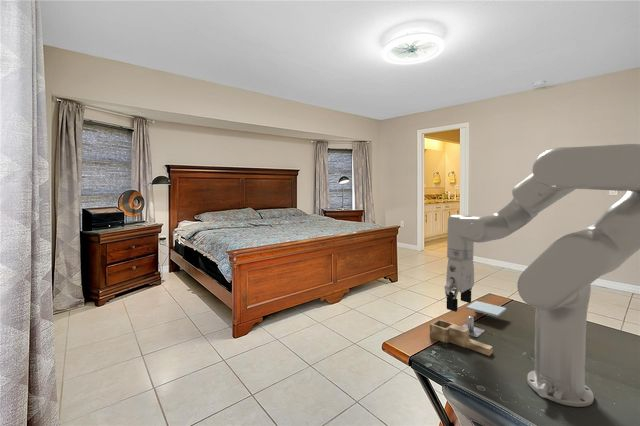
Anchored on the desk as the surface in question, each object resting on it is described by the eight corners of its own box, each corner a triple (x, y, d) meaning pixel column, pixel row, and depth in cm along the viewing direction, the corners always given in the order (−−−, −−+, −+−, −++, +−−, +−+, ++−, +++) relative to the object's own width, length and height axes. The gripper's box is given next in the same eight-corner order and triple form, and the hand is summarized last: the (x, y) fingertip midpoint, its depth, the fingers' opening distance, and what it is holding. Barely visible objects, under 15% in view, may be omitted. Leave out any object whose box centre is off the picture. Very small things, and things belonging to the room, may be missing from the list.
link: (429, 337, 100) (429, 322, 100) (438, 331, 104) (438, 317, 104) (486, 358, 86) (486, 341, 86) (494, 350, 90) (494, 334, 90)
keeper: (497, 325, 106) (497, 315, 106) (466, 316, 115) (466, 306, 115) (506, 318, 112) (506, 308, 112) (476, 310, 121) (475, 300, 120)
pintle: (476, 337, 99) (476, 323, 98) (455, 330, 104) (455, 316, 104) (485, 330, 103) (485, 316, 103) (464, 324, 108) (464, 311, 108)
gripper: (459, 260, 85) (458, 317, 86) (483, 251, 96) (482, 301, 98) (434, 256, 91) (434, 310, 92) (460, 247, 102) (459, 295, 103)
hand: (459, 305), depth 95 cm, fingers open, 9 cm apart
